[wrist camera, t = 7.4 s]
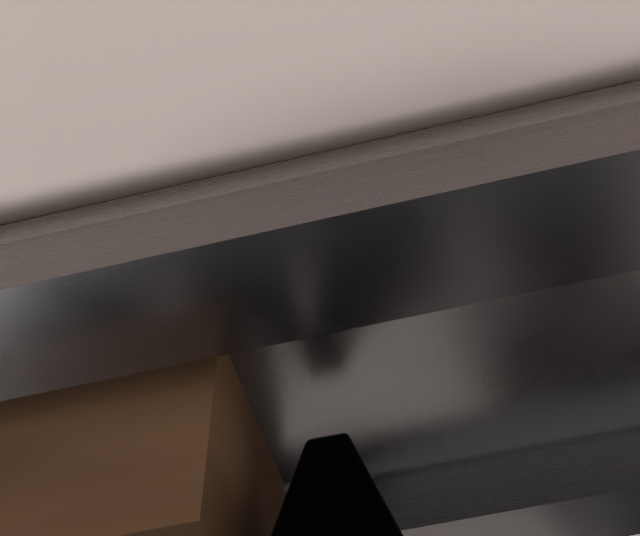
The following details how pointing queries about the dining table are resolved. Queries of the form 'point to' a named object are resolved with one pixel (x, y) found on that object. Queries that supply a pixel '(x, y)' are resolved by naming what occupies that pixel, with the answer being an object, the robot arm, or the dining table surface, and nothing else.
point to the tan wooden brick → (139, 458)
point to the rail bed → (384, 309)
